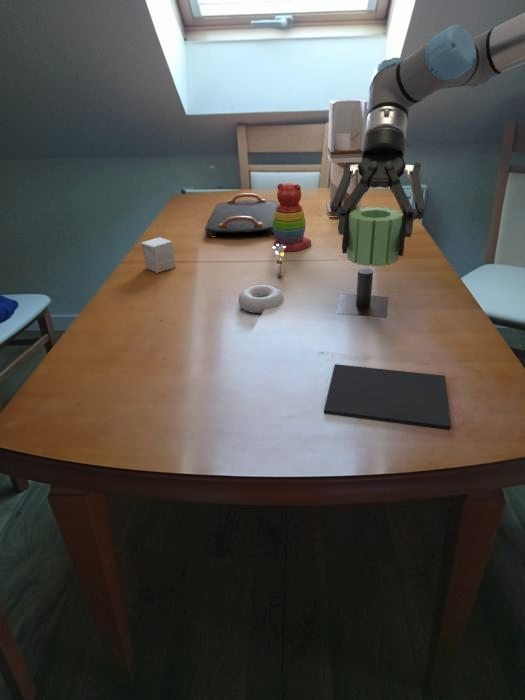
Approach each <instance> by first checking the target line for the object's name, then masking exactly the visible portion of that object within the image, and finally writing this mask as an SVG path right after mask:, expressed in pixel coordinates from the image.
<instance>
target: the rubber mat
mask: <svg viewBox="0 0 525 700" xmlns="http://www.w3.org/2000/svg"><path fill="white" fill-rule="evenodd" d="M324 404H325V405H324V408H323V414H327V413H328V414H329V415H335V416H342V417H343V416H344V417H350V418H359V419H365V420H373V421H380V422H381V421H382V422H389V423H396V424H405V425H412V426H419V427H420V426H421V427H427V428H436V429H442V430H451V428H452V425H451V413H450V406H449V399H448V390H447V381H446V375H444V374H435V373H423V372H415V371H414V372H412V371H404V370H395V369H385V368H375V367H365V366H355V365H348V364H347V365H346V364H339V363H338V364H336V363H335V364H334V367H333V370H332V375H331V378H330V383H329V387H328V391H327V395H326V399H325V402H324Z"/></svg>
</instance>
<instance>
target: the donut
mask: <svg viewBox="0 0 525 700" xmlns="http://www.w3.org/2000/svg"><path fill="white" fill-rule="evenodd" d="M282 303H284V294H283V292H282V291H281V290H280V289H279V288H277V287H275V286H272V285H267V284H266V285H265V284H261V285H260V284H257V285H252V286H249V287H246V288H245V289H243V290H241V292H240V293H239V295H238V304H239V307H240V308H242V310H244V311H246V312H250V313H255V314H263V313H264V311H265V310H269V309H273V308H276V307H278V306H280V305H281V304H282Z"/></svg>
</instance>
